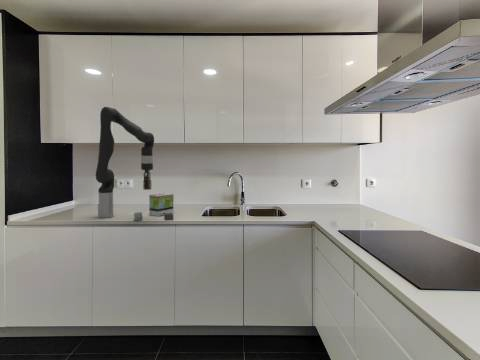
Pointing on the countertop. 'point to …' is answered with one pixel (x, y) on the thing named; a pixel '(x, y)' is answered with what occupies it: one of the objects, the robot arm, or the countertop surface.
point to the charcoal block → (168, 216)
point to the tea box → (160, 204)
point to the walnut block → (149, 185)
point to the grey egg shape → (138, 216)
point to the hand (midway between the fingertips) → (147, 188)
